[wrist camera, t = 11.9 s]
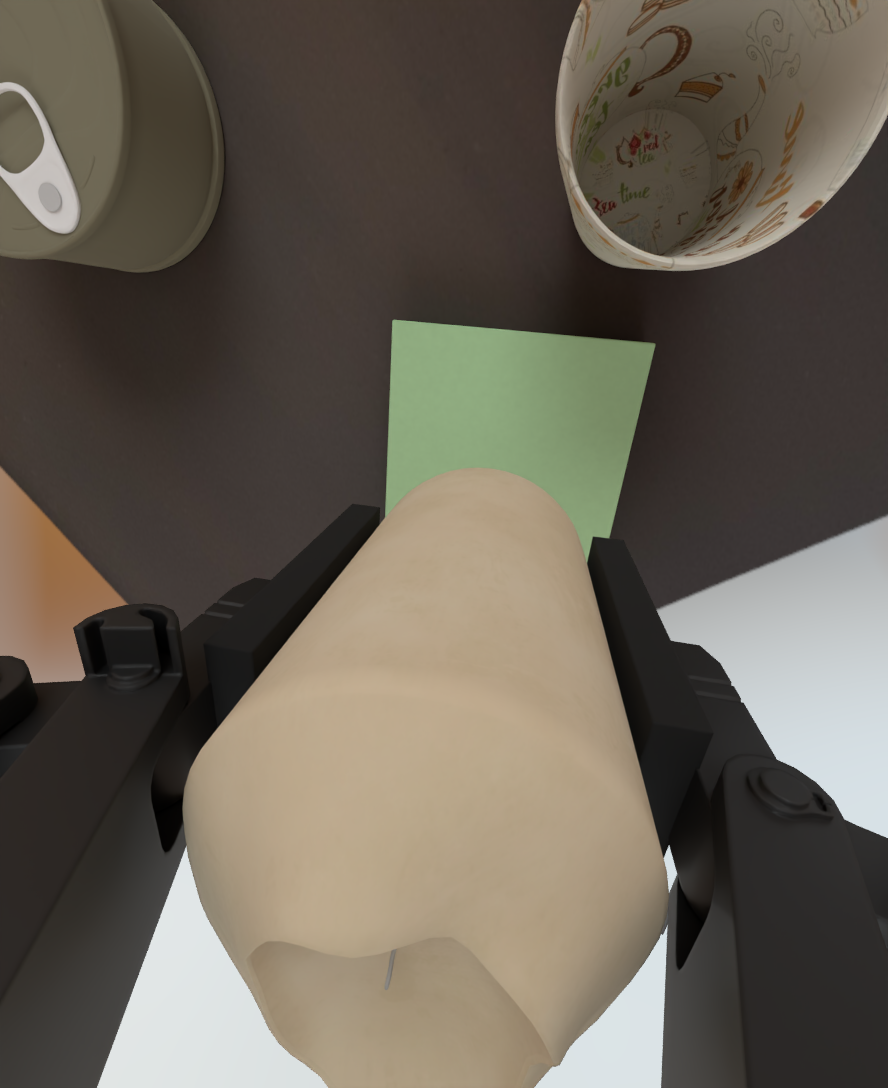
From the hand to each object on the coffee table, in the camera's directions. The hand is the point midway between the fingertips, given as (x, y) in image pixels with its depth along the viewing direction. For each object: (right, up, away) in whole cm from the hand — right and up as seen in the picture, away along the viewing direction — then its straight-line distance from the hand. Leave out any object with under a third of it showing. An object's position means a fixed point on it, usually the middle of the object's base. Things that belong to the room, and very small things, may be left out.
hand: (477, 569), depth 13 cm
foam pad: (+2, +6, +14) cm, 15 cm away
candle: (0, 0, 0) cm, 1 cm away
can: (-17, +21, +11) cm, 29 cm away
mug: (+7, +18, +8) cm, 21 cm away
